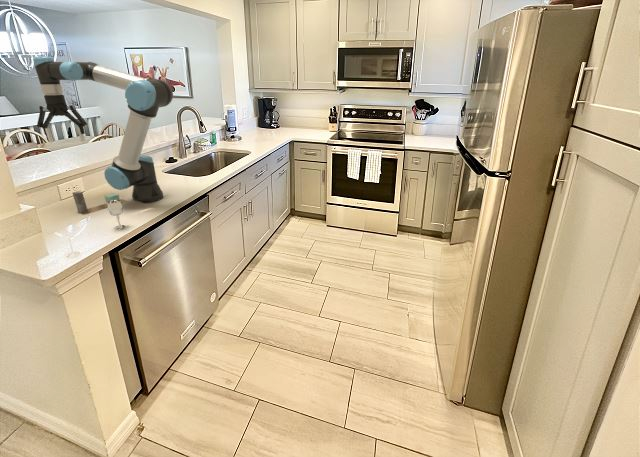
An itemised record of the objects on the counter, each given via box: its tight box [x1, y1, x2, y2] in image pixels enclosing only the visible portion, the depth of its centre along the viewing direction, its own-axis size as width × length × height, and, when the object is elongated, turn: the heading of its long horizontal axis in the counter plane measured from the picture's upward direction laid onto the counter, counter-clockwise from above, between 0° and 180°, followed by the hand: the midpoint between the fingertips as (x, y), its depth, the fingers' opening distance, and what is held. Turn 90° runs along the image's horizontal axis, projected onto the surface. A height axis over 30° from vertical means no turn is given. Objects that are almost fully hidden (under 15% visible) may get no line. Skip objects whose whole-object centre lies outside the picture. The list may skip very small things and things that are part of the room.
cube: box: [104, 193, 120, 204], centre depth 178 cm, size 4×4×4 cm
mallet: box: [72, 190, 129, 216], centre depth 173 cm, size 22×7×11 cm, turn 146°
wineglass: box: [107, 200, 127, 230], centre depth 152 cm, size 6×6×12 cm
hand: (67, 141), depth 169 cm, fingers open, 13 cm apart
